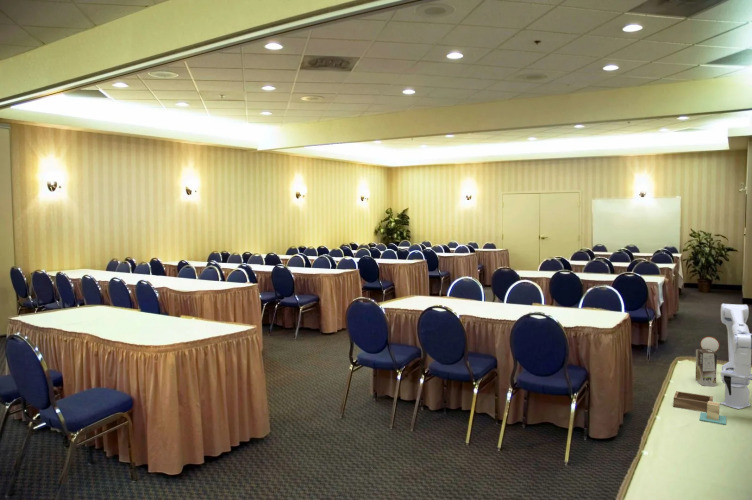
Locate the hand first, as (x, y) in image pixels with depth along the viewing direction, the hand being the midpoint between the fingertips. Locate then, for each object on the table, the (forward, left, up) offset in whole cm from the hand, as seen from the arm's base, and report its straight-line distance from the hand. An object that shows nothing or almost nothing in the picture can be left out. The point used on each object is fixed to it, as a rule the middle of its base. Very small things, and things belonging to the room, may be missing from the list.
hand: (741, 396), depth 221 cm
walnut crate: (+3, -18, -9) cm, 21 cm away
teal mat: (+10, -5, -9) cm, 15 cm away
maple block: (+10, -5, -9) cm, 14 cm away
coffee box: (-31, -34, -10) cm, 47 cm away
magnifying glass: (-45, -41, -10) cm, 62 cm away
